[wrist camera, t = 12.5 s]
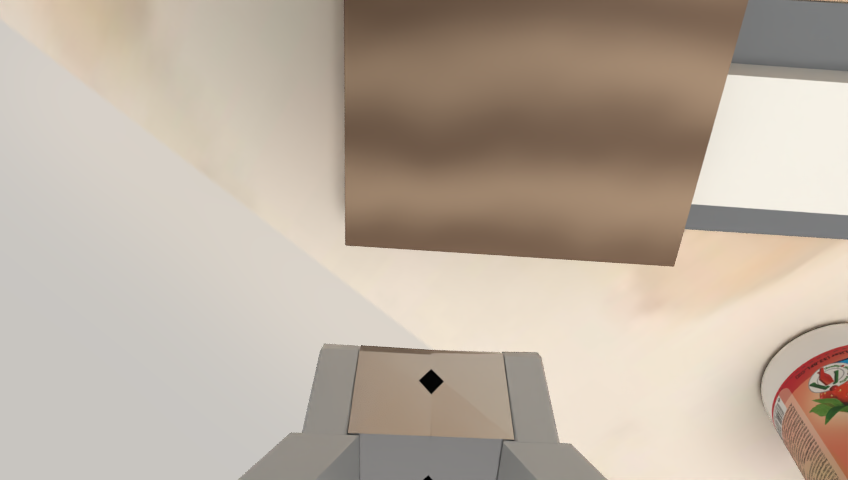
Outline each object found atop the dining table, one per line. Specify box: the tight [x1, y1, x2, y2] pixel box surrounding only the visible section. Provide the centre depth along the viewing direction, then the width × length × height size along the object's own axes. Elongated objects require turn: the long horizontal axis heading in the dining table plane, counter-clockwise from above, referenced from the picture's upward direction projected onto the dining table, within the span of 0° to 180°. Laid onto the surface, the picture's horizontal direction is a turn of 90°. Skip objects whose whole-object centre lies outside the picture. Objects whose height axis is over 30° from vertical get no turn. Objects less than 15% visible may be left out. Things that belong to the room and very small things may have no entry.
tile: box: [692, 63, 848, 215], centre depth 35 cm, size 7×9×2 cm
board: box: [344, 0, 748, 266], centre depth 35 cm, size 14×18×4 cm
